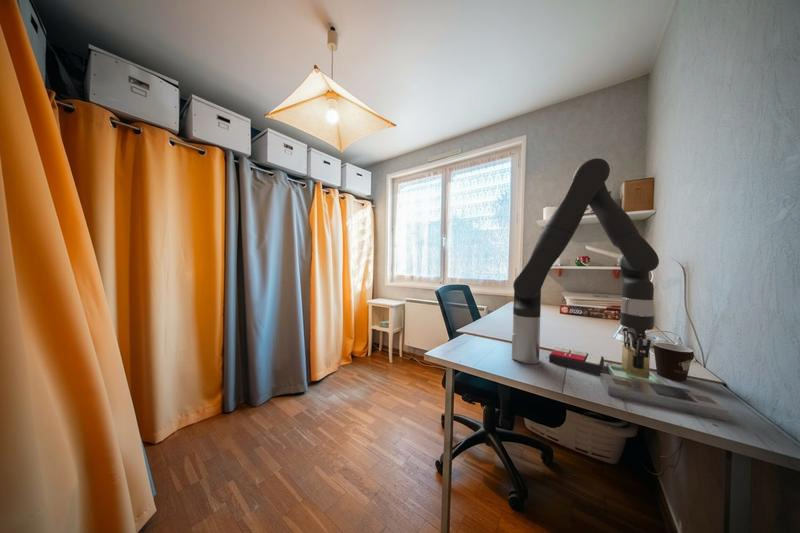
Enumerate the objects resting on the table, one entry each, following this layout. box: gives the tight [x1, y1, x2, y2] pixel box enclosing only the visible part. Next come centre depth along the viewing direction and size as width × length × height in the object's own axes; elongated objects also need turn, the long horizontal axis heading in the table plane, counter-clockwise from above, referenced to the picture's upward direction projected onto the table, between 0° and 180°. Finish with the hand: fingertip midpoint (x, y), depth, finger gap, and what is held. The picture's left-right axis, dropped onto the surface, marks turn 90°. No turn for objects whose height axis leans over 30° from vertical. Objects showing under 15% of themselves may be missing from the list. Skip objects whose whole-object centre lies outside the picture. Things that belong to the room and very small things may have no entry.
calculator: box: [548, 346, 605, 377], centre depth 86 cm, size 11×4×15 cm
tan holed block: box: [621, 344, 651, 379], centre depth 75 cm, size 5×5×8 cm
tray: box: [606, 364, 666, 385], centre depth 75 cm, size 11×11×2 cm
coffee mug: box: [652, 341, 695, 383], centre depth 77 cm, size 12×9×10 cm
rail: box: [599, 372, 730, 422], centre depth 65 cm, size 22×9×3 cm, turn 61°
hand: (634, 364), depth 75 cm, fingers closed on tan holed block, 5 cm apart
